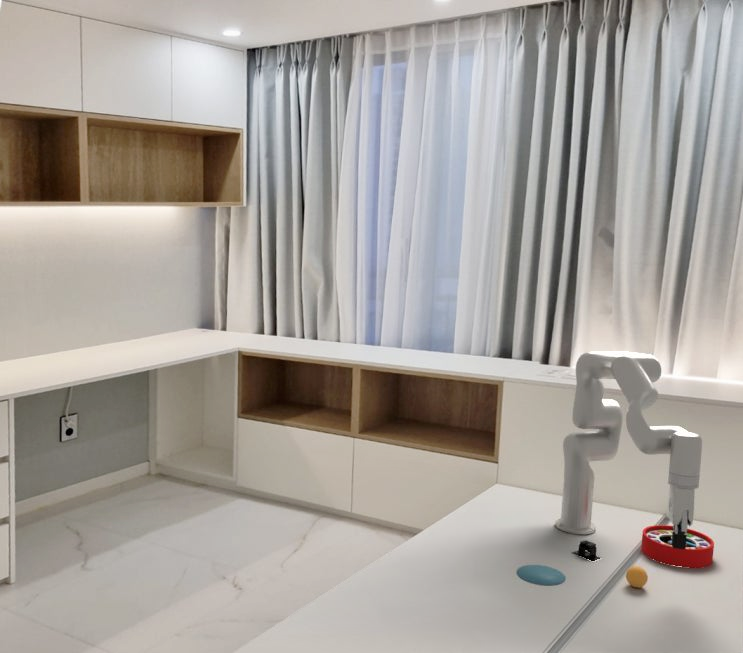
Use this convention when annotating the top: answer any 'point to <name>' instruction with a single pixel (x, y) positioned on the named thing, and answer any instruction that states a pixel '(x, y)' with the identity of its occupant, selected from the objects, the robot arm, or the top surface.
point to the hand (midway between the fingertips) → (678, 547)
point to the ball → (636, 576)
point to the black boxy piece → (587, 550)
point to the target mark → (541, 575)
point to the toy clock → (661, 549)
